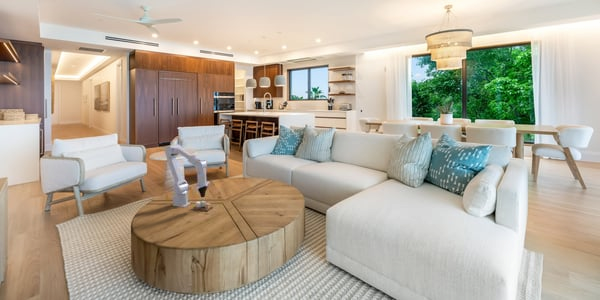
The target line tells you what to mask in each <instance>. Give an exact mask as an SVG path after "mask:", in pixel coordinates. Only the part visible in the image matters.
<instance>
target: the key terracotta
mask: <svg viewBox="0 0 600 300" xmlns="http://www.w3.org/2000/svg"><path fill="white" fill-rule="evenodd" d="M211 206H212V205H211V202H206V204H205V208H207V209H209V208H210V207H211Z"/></svg>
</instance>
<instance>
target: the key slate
mask: <svg viewBox="0 0 600 300" xmlns="http://www.w3.org/2000/svg"><path fill="white" fill-rule="evenodd" d="M199 202H200V206H202V207H204V206H205V204H206V203H207V201H206V200H201V201H199Z"/></svg>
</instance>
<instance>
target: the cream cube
mask: <svg viewBox="0 0 600 300" xmlns="http://www.w3.org/2000/svg"><path fill="white" fill-rule="evenodd" d="M200 202H201V201H200V200H199V201H196V202H195V206H196V207H201V206H200Z"/></svg>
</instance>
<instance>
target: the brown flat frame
mask: <svg viewBox="0 0 600 300" xmlns="http://www.w3.org/2000/svg"><path fill="white" fill-rule="evenodd" d="M213 209H214V205H211V207H210V208H209V209H207V208H205V206H204V207H202V206H201V207H196V205H195V206H193V210H197V211H203V212H209V211H211V210H213Z"/></svg>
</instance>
